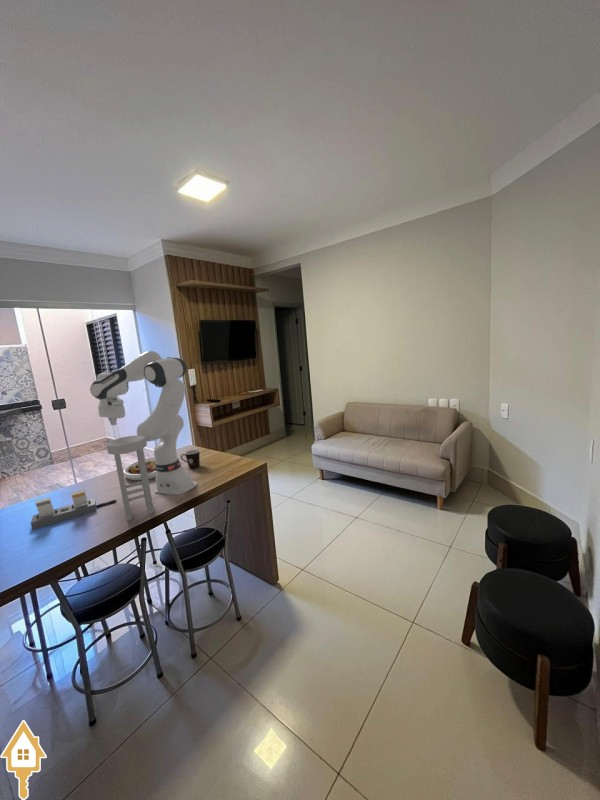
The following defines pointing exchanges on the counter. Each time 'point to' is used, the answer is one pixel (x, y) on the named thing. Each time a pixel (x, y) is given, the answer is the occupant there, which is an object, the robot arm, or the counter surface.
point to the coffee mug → (192, 459)
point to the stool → (137, 445)
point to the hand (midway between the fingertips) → (113, 424)
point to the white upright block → (79, 497)
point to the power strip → (65, 513)
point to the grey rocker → (44, 506)
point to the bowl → (134, 471)
